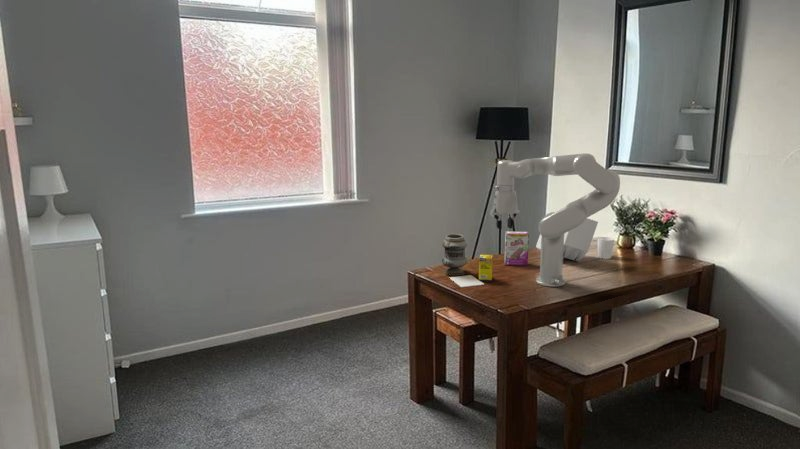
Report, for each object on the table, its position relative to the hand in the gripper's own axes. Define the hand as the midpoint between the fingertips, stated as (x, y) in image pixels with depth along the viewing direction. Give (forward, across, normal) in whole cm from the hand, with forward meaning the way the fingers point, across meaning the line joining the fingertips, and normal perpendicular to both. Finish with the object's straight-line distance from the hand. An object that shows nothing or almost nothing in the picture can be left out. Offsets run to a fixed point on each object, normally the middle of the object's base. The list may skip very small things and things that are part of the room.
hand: (504, 227), depth 243 cm
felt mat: (+23, -18, 0) cm, 30 cm away
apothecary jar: (+24, -18, +15) cm, 33 cm away
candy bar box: (+24, +16, +17) cm, 33 cm away
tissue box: (+24, +43, +16) cm, 52 cm away
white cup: (+24, +65, +13) cm, 70 cm away
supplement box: (+24, -9, 0) cm, 25 cm away
